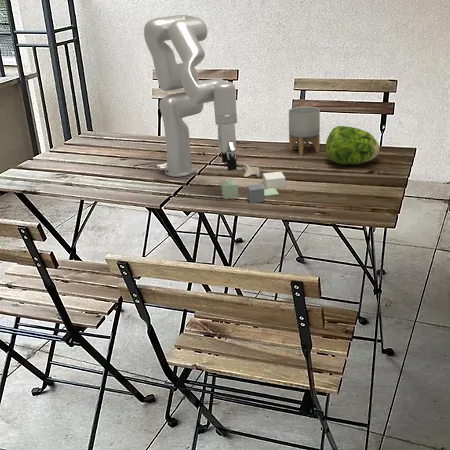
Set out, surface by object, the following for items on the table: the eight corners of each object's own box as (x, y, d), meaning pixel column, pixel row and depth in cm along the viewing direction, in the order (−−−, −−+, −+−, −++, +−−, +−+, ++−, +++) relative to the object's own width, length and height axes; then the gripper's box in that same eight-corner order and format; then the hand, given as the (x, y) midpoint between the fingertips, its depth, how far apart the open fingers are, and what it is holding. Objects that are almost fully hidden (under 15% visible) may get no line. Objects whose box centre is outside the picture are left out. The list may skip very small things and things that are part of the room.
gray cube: (250, 203, 221) (250, 190, 219) (247, 198, 226) (247, 185, 224) (264, 201, 222) (264, 188, 220) (261, 196, 227) (260, 183, 225)
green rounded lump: (377, 176, 246) (389, 138, 242) (326, 162, 244) (338, 124, 240) (366, 168, 262) (378, 132, 258) (318, 155, 259) (330, 119, 255)
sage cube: (224, 199, 226) (223, 186, 224) (222, 194, 231) (221, 181, 229) (238, 197, 227) (237, 184, 225) (235, 192, 232) (234, 179, 230)
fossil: (243, 179, 245) (243, 170, 243) (241, 169, 255) (241, 161, 253) (261, 177, 245) (261, 169, 244) (258, 168, 255) (258, 160, 253)
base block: (267, 189, 233) (266, 179, 231) (263, 183, 239) (263, 173, 237) (285, 187, 234) (285, 177, 232) (281, 181, 240) (281, 171, 238)
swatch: (262, 196, 226) (262, 195, 226) (258, 190, 232) (258, 189, 231) (278, 194, 227) (278, 193, 227) (274, 188, 232) (274, 187, 232)
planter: (285, 154, 268) (285, 113, 260) (293, 145, 279) (293, 106, 271) (315, 156, 264) (315, 114, 256) (322, 147, 274) (322, 106, 267)
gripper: (211, 114, 224) (214, 160, 231) (220, 125, 209) (223, 174, 215) (231, 112, 225) (234, 157, 232) (242, 123, 210) (245, 171, 216)
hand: (229, 165), depth 224 cm, fingers open, 9 cm apart
